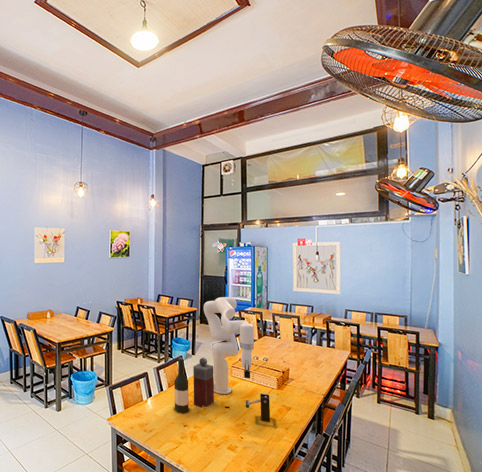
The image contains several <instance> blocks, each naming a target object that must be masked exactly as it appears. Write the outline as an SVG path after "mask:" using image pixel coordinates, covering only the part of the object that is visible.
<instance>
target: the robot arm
mask: <svg viewBox="0 0 482 472" xmlns="http://www.w3.org/2000/svg"><path fill="white" fill-rule="evenodd" d="M237 306H238V303H237V301H236V299H235V298H234V297H232V296H220V297H217V298H215V299H214V300H208V301H206V302H205V303H204V304H203V313H204V316H205V318H206V320H207V323H208V329H209V331H210V336H211V339H212V340H213V341H215V343H213V344H212V346H211V352H212V357H213V358H212V359H213V378H214V393H216V394H219V395H228V394H231V392H232V388H231V387H230V384H229V383H230V381H229V380H230V379H229V362H228V361H227V360H226V358H232V357H233V358H234V357H237V356H238V355H239V348H240V349H241V367H242V368H243V367H244V369H243V378H245V379H251V367H252V355H253V354H252V353H253V352H252V351H253V350H254V349H255V344H254V343H255V342H254V341H255V337H254V336H255V334H254V330H255V329H254V325H253V324H252V323H249V322H248V321H247V320H244V319H243V320H239V319H238V320H232V319H233V318H234V317H235V314H236V310H235V309H236V308H237ZM219 313H220V314H221V317H219V316H218V315H217V314H219ZM237 334H239V347H238V343H237V338H236V335H237ZM216 341H217V342H216Z"/></svg>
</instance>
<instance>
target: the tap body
mask: <svg viewBox="0 0 482 472" xmlns="http://www.w3.org/2000/svg"><path fill="white" fill-rule="evenodd" d="M263 396H267V397H263ZM259 397H260V398H259V399H261V402H260V421H261V422H268V423H270V422H271V409H270V407H271V405H270V403H271V402H270V394H267V393H260V396H259Z"/></svg>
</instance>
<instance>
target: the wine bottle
mask: <svg viewBox="0 0 482 472" xmlns="http://www.w3.org/2000/svg"><path fill="white" fill-rule="evenodd" d="M177 367H178V368H177V369H178V371H177V372H178V373H177V376H176V377H175V379H174V411H175V412H177V413H178V414H179V413H181V414H185V413H188V412H189V406H190V405H189V404H190V403H189V379H188V378H187V376H186V375H185V360H184V358H183V357H178V360H177Z"/></svg>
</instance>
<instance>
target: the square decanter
mask: <svg viewBox="0 0 482 472" xmlns="http://www.w3.org/2000/svg"><path fill="white" fill-rule="evenodd" d="M198 361H199V363H197V364H195V365H193V369H192V371H193V405H194V406H196V407H199V408H203V407H205V408H208V407H209V406H211V405H212V404H213V403H215V392H214V365H213V364H212V365H211V364H208V359H207V358H205V357H201V358H199V360H198Z"/></svg>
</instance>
